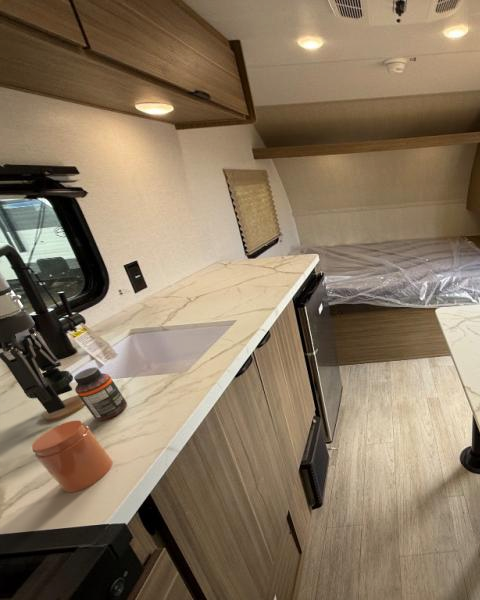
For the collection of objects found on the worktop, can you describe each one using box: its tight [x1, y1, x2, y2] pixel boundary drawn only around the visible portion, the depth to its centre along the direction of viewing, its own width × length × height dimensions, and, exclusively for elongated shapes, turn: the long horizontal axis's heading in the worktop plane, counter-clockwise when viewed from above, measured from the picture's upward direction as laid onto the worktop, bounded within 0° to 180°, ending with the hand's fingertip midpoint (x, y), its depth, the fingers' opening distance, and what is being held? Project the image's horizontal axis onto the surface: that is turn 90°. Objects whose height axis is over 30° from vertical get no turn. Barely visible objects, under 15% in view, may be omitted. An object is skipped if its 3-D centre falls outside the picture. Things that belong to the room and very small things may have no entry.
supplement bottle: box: [73, 366, 128, 421], centre depth 71 cm, size 6×6×11 cm
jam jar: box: [31, 419, 113, 493], centre depth 55 cm, size 7×7×10 cm
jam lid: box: [25, 370, 74, 399], centre depth 73 cm, size 8×8×2 cm
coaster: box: [42, 394, 86, 422], centre depth 76 cm, size 8×8×1 cm
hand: (61, 400), depth 75 cm, fingers closed on jam lid, 7 cm apart
